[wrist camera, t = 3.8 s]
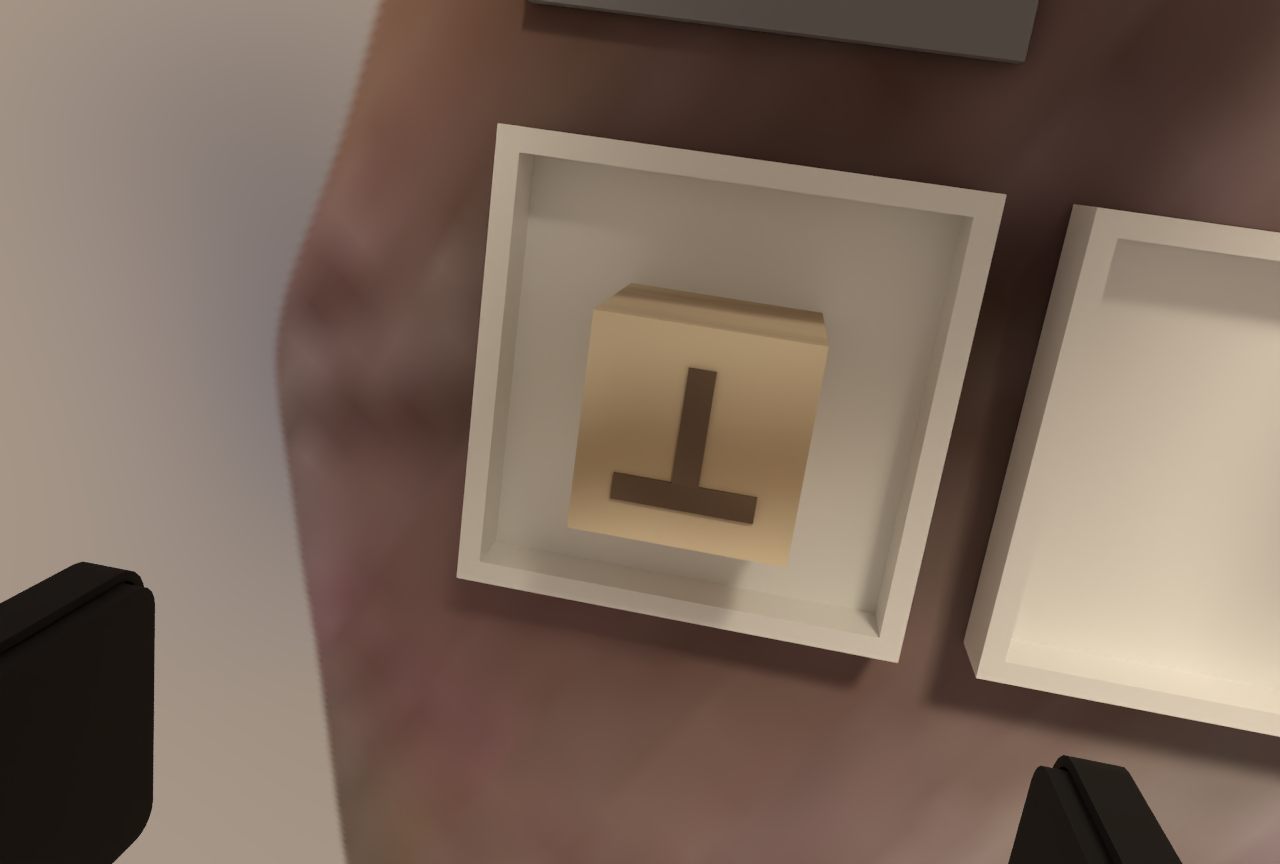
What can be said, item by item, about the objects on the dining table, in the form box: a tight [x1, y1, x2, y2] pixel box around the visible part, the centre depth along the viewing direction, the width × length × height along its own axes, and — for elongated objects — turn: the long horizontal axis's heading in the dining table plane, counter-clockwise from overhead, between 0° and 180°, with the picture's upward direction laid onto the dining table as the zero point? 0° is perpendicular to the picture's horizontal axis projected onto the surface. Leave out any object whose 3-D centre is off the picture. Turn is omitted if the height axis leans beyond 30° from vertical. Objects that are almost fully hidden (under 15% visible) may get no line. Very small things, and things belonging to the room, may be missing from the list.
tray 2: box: [963, 204, 1280, 737], centre depth 24 cm, size 12×12×2 cm
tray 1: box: [457, 123, 1007, 663], centre depth 26 cm, size 12×12×2 cm
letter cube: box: [567, 283, 829, 568], centre depth 24 cm, size 5×5×5 cm
